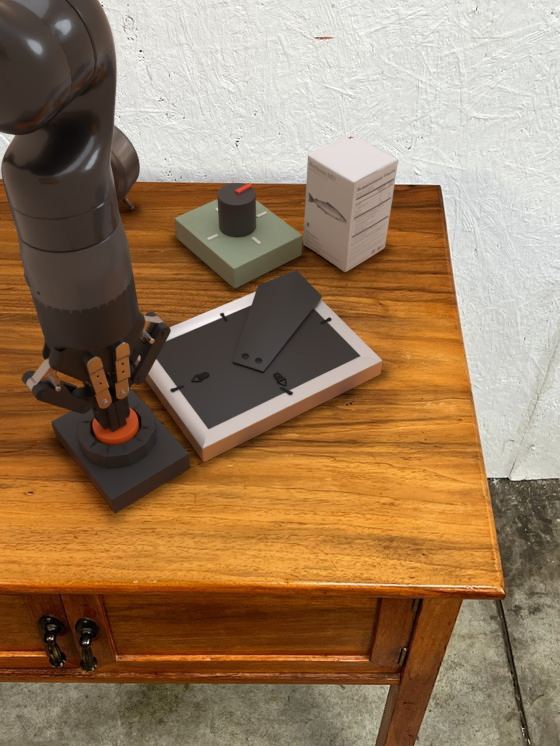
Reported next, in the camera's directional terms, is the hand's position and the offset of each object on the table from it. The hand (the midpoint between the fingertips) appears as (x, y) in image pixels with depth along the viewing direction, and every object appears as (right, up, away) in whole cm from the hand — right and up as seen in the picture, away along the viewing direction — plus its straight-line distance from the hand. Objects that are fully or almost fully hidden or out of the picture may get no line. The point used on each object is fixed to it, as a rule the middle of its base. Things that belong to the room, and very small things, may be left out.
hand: (114, 422), depth 69 cm
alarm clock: (-8, +25, +30) cm, 40 cm away
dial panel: (+10, +20, +24) cm, 33 cm away
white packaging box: (+23, +19, +25) cm, 39 cm away
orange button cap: (0, -1, +2) cm, 2 cm away
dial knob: (+10, +22, +22) cm, 33 cm away
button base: (0, -3, +3) cm, 5 cm away
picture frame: (+12, +5, +11) cm, 17 cm away
